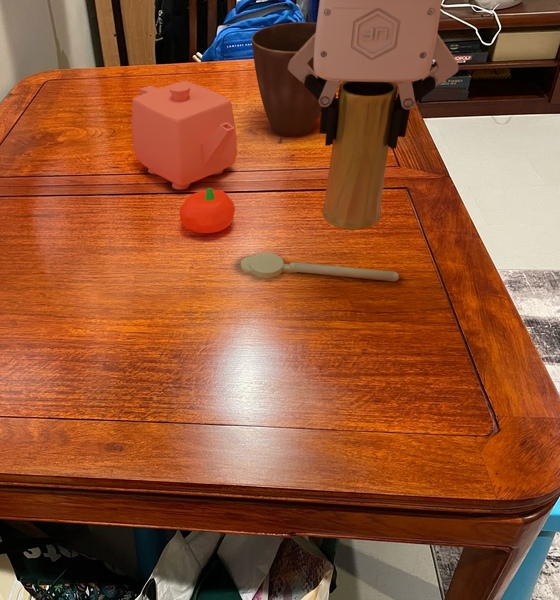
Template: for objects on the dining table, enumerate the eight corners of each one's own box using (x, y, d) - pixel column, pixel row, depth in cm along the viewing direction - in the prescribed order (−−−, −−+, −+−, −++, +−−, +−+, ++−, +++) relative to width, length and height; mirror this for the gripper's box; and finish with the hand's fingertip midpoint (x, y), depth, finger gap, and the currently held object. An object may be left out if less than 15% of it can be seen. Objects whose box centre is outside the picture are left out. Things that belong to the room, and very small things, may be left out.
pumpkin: (172, 222, 90) (169, 183, 86) (223, 209, 92) (222, 170, 88) (190, 248, 85) (188, 207, 81) (244, 233, 87) (244, 193, 83)
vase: (321, 200, 70) (333, 74, 61) (378, 201, 69) (399, 73, 60) (322, 230, 66) (335, 98, 57) (383, 232, 65) (406, 98, 56)
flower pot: (353, 128, 109) (365, 33, 99) (292, 155, 103) (298, 57, 93) (292, 105, 119) (297, 16, 109) (233, 129, 113) (232, 38, 103)
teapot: (261, 182, 97) (263, 93, 88) (197, 211, 92) (192, 120, 83) (178, 138, 112) (173, 58, 103) (119, 161, 107) (108, 80, 98)
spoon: (398, 270, 78) (399, 262, 77) (398, 292, 74) (399, 284, 74) (243, 255, 83) (243, 248, 82) (237, 275, 79) (237, 268, 79)
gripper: (275, -53, 50) (268, 154, 61) (510, -61, 45) (456, 163, 57) (286, -71, 55) (279, 122, 67) (497, -80, 51) (450, 128, 62)
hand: (360, 139), depth 62 cm, fingers closed on vase, 5 cm apart
